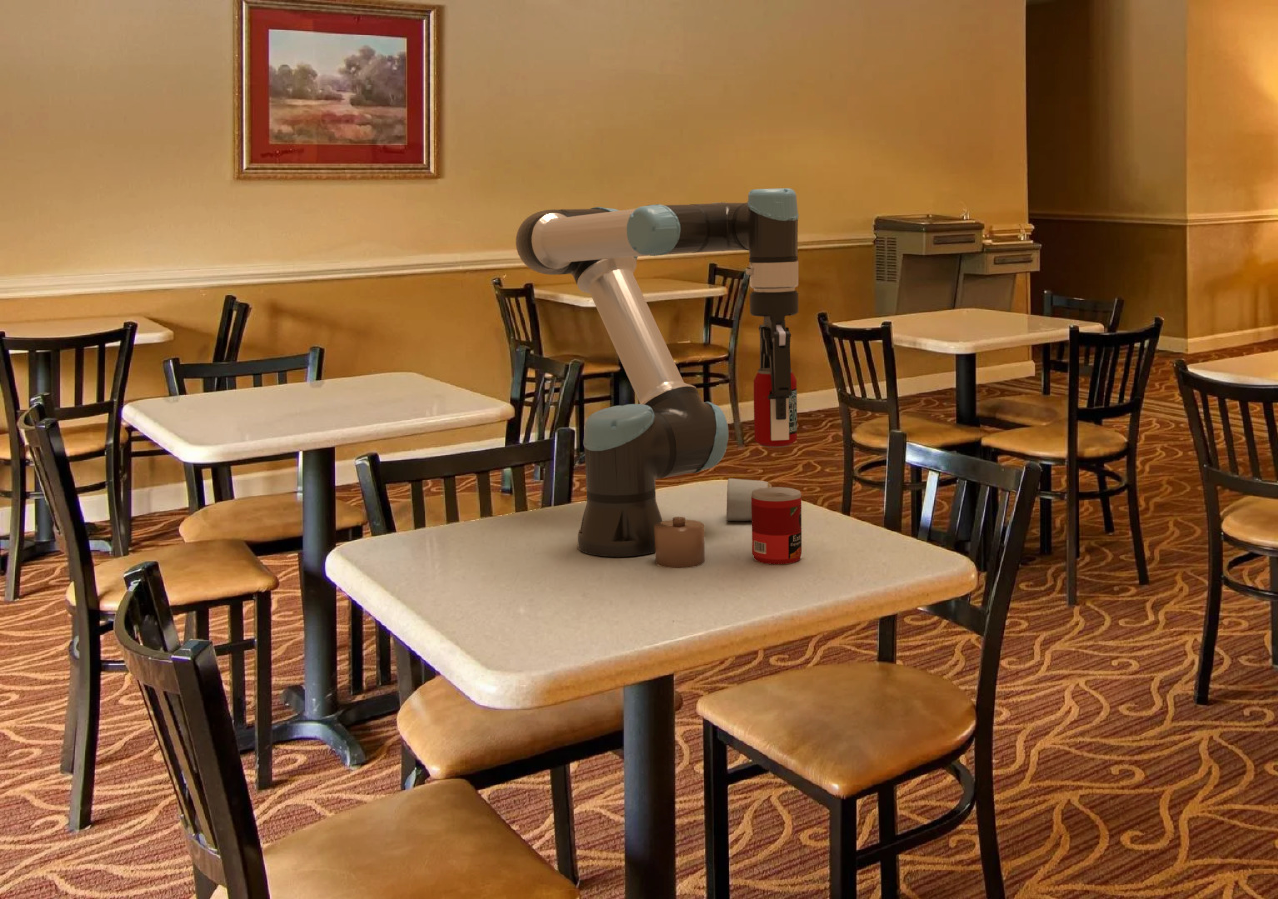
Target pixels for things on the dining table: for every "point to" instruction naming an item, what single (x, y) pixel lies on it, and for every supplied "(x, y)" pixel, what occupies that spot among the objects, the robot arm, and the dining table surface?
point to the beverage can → (764, 410)
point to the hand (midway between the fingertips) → (775, 435)
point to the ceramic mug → (741, 498)
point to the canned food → (776, 525)
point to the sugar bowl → (679, 543)
